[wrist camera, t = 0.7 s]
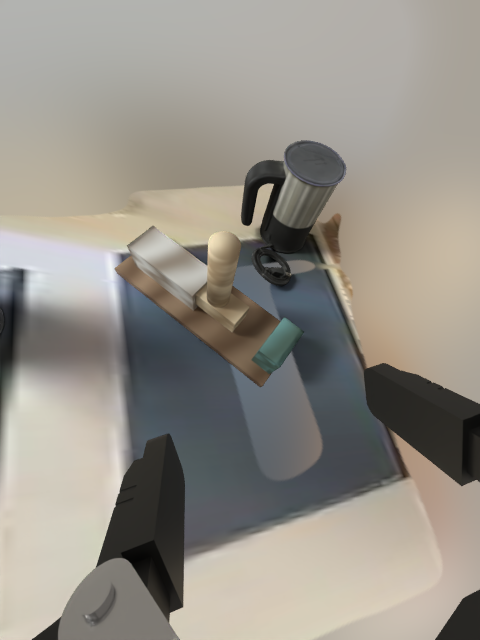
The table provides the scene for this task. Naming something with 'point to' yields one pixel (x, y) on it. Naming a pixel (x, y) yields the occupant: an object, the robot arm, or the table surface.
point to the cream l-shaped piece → (222, 281)
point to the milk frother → (290, 200)
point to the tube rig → (179, 302)
